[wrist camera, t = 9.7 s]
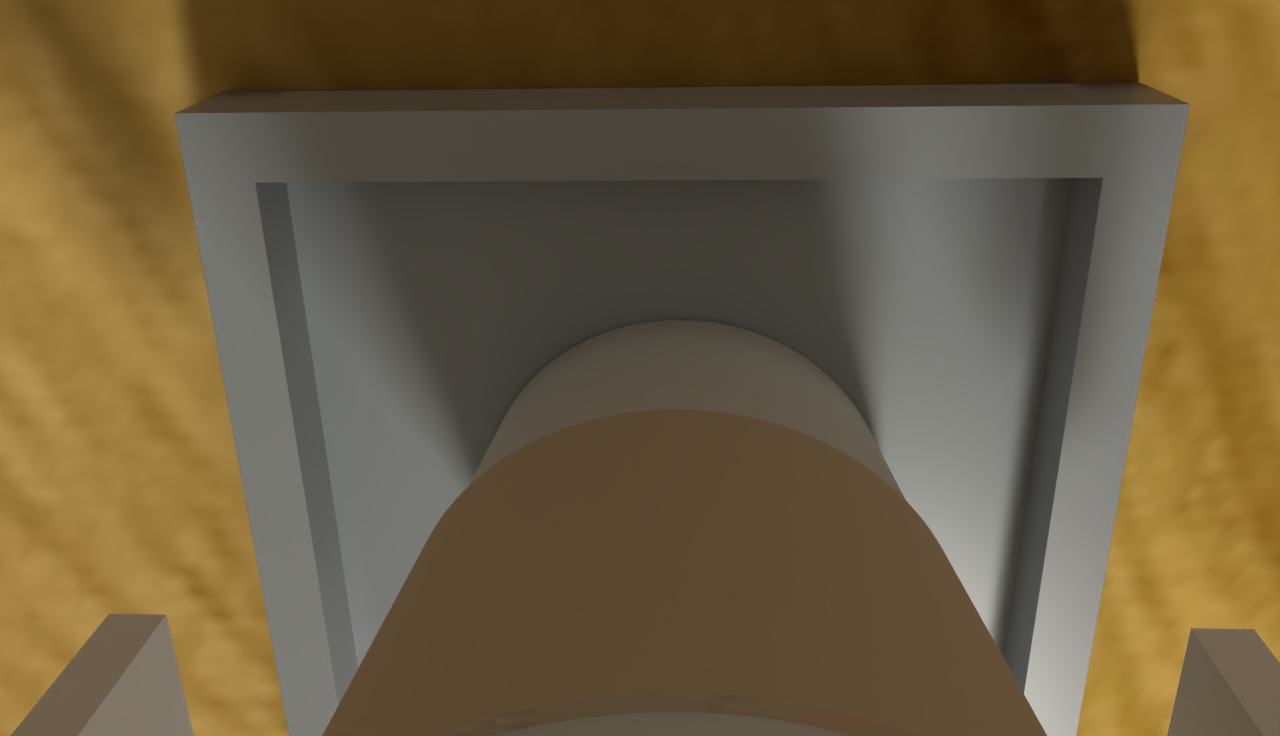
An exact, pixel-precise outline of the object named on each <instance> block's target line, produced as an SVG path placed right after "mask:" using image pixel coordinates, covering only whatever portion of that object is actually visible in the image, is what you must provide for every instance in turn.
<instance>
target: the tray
mask: <svg viewBox="0 0 1280 736" xmlns="http://www.w3.org/2000/svg"><path fill="white" fill-rule="evenodd" d="M1189 106H1190V104H1188V103H1186V102H1183V101H1181V100H1179V99H1177V98H1174V97H1172V96H1170V95H1167V94H1165V93H1163V92H1160V91H1158V90H1156V89H1154V88H1151V87H1149V86H1147V85H1144V84H1142V83H1063V84H962V85H861V86H759V87H658V88H557V89H456V90H354V91H253V92H223V93H220V94H218V95H216V96H213V97H211V98H209V99H206V100H204V101H202V102H200V103H197V104H195V105H193V106H190V107H188V108H186V109H183V110H181V111H179V112H176V113H174V114H175V119H176V125H177V130H178V136H179V141H180V146H181V152H182V157H183V163H184V168H185V174H186V179H187V184H188V190H189V195H190V201H191V206H192V212H193V217H194V222H195V228H196V233H197V239H198V244H199V250H200V255H201V260H202V266H203V271H204V277H205V282H206V288H207V293H208V298H209V304H210V309H211V315H212V320H213V326H214V331H215V336H216V342H217V347H218V353H219V358H220V364H221V369H222V374H223V380H224V385H225V391H226V396H227V402H228V407H229V412H230V418H231V423H232V429H233V434H234V440H235V445H236V450H237V456H238V461H239V467H240V472H241V478H242V483H243V488H244V494H245V499H246V505H247V510H248V516H249V521H250V526H251V532H252V537H253V543H254V548H255V554H256V559H257V564H258V570H259V575H260V581H261V586H262V592H263V597H264V602H265V608H266V613H267V619H268V624H269V630H270V635H271V640H272V646H273V651H274V657H275V662H276V668H277V673H278V678H279V684H280V689H281V695H282V700H283V706H284V711H285V716H286V722H287V727H288V733H289V736H322V735H323V733H324V731H325V729H326V728H327V726H328V724H329V722H330V720H331V718H332V716H333V715H334V713H335V711H336V709H337V707H338V705H339V703H340V701H341V700H342V698H343V696H344V694H345V692H346V690H347V688H348V687H349V685H350V683H351V681H352V679H353V677H354V675H355V674H356V672H357V670H358V668H359V666H360V664H361V662H362V661H363V659H364V657H365V655H366V653H367V651H368V649H369V648H370V646H371V644H372V642H373V640H374V638H375V636H376V635H377V633H378V631H379V629H380V627H381V625H382V623H383V621H384V620H385V618H386V616H387V614H388V612H389V610H390V608H391V607H392V605H393V603H394V601H395V599H396V597H397V595H398V594H399V592H400V590H401V588H402V586H403V584H404V582H405V581H406V579H407V577H408V575H409V573H410V571H411V569H412V568H413V566H414V564H415V562H416V560H417V558H418V556H419V555H420V553H421V551H422V549H423V547H424V545H425V543H426V541H427V540H428V538H429V536H430V534H431V532H432V531H433V529H434V528H435V526H436V524H437V523H438V522H439V520H440V519H441V517H442V516H443V514H444V513H445V512H446V510H447V509H448V508H449V507H450V506H451V504H452V503H453V502H454V501H455V500H456V499H457V497H458V496H459V495H460V494H461V493H462V492H463V491H464V490H465V489H466V488H467V487H468V486H469V485H470V483H471V481H472V479H473V477H474V475H475V473H476V471H477V469H478V467H479V466H480V464H481V462H482V460H483V458H484V456H485V454H486V452H487V450H488V448H489V446H490V444H491V442H492V440H493V438H494V436H495V434H496V432H497V431H498V429H499V427H500V425H501V423H502V421H503V419H504V417H505V415H506V413H507V412H508V410H509V408H510V406H511V405H512V403H513V402H514V400H515V399H516V398H517V396H518V395H519V393H520V392H521V391H522V390H523V389H524V387H525V386H526V385H527V384H528V383H529V382H530V381H531V380H532V379H533V378H534V377H535V376H536V374H537V373H538V372H540V371H541V370H542V369H543V368H544V367H545V366H547V365H548V364H549V363H550V362H552V361H553V360H554V359H556V358H557V357H559V356H560V355H561V354H563V353H564V352H566V351H568V350H569V349H571V348H573V347H574V346H576V345H578V344H580V343H582V342H584V341H586V340H588V339H590V338H593V337H595V336H598V335H600V334H603V333H606V332H608V331H611V330H615V329H618V328H622V327H625V326H629V325H634V324H639V323H646V322H652V321H664V320H697V321H707V322H714V323H720V324H726V325H730V326H734V327H738V328H743V329H746V330H749V331H752V332H755V333H758V334H761V335H763V336H766V337H768V338H770V339H773V340H775V341H777V342H779V343H781V344H783V345H785V346H787V347H789V348H791V349H792V350H794V351H796V352H797V353H799V354H801V355H802V356H804V357H805V358H807V359H808V360H810V361H811V362H812V363H814V364H815V365H816V366H818V367H819V368H820V369H821V370H822V371H824V372H825V373H826V374H827V375H828V376H829V377H830V378H831V379H832V380H833V381H834V382H835V383H837V384H838V385H839V387H840V388H841V389H842V390H843V391H844V392H845V393H846V395H847V396H848V397H849V398H850V400H851V401H852V402H853V404H854V405H855V407H856V408H857V409H858V411H859V413H860V414H861V416H862V417H863V419H864V421H865V423H866V425H867V427H868V428H869V430H870V432H871V434H872V436H873V438H874V440H875V442H876V444H877V446H878V448H879V449H880V451H881V453H882V455H883V457H884V459H885V461H886V463H887V465H888V467H889V469H890V471H891V472H892V474H893V476H894V478H895V480H896V482H897V484H898V486H899V488H900V490H901V492H902V493H903V495H904V497H905V499H906V501H907V502H908V503H909V504H910V505H911V506H912V507H913V509H914V510H915V511H916V512H917V513H918V514H919V516H920V517H921V518H922V519H923V521H924V522H925V523H926V525H927V526H928V527H929V529H930V530H931V531H932V533H933V534H934V536H935V537H936V539H937V541H938V542H939V544H940V546H941V547H942V549H943V551H944V553H945V554H946V556H947V558H948V560H949V561H950V563H951V565H952V567H953V569H954V570H955V572H956V574H957V576H958V577H959V579H960V581H961V583H962V585H963V586H964V588H965V590H966V592H967V594H968V595H969V597H970V599H971V601H972V602H973V604H974V606H975V608H976V610H977V611H978V613H979V615H980V617H981V618H982V620H983V622H984V624H985V626H986V627H987V629H988V631H989V633H990V634H991V636H992V638H993V640H994V642H995V643H996V645H997V647H998V649H999V651H1000V652H1001V654H1002V656H1003V658H1004V659H1005V661H1006V663H1007V665H1008V667H1009V668H1010V670H1011V672H1012V674H1013V675H1014V677H1015V679H1016V681H1017V683H1018V684H1019V686H1020V688H1021V690H1022V691H1023V693H1024V695H1025V697H1026V699H1027V700H1028V702H1029V704H1030V706H1031V708H1032V709H1033V711H1034V713H1035V715H1036V716H1037V718H1038V720H1039V722H1040V724H1041V725H1042V727H1043V729H1044V731H1045V732H1046V734H1047V736H1076V733H1077V727H1078V722H1079V716H1080V711H1081V705H1082V700H1083V694H1084V689H1085V683H1086V677H1087V672H1088V666H1089V661H1090V655H1091V650H1092V644H1093V639H1094V633H1095V628H1096V622H1097V616H1098V611H1099V605H1100V600H1101V594H1102V589H1103V583H1104V578H1105V572H1106V567H1107V561H1108V555H1109V550H1110V544H1111V539H1112V533H1113V528H1114V522H1115V517H1116V511H1117V506H1118V500H1119V494H1120V489H1121V483H1122V478H1123V472H1124V467H1125V461H1126V456H1127V450H1128V445H1129V439H1130V433H1131V428H1132V422H1133V417H1134V411H1135V406H1136V400H1137V395H1138V389H1139V384H1140V378H1141V372H1142V367H1143V361H1144V356H1145V350H1146V345H1147V339H1148V334H1149V328H1150V323H1151V317H1152V311H1153V306H1154V300H1155V295H1156V289H1157V284H1158V278H1159V273H1160V267H1161V262H1162V256H1163V250H1164V245H1165V239H1166V234H1167V228H1168V223H1169V217H1170V212H1171V206H1172V201H1173V195H1174V189H1175V184H1176V178H1177V173H1178V167H1179V162H1180V156H1181V151H1182V145H1183V140H1184V134H1185V128H1186V123H1187V117H1188V112H1189Z"/></svg>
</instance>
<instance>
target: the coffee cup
mask: <svg viewBox="0 0 1280 736" xmlns="http://www.w3.org/2000/svg"><path fill="white" fill-rule="evenodd" d="M322 736H1047V734H1046V732H1045V731H1044V729H1043V727H1042V725H1041V724H1040V722H1039V720H1038V718H1037V716H1036V715H1035V713H1034V711H1033V709H1032V708H1031V706H1030V704H1029V702H1028V700H1027V699H1026V697H1025V695H1024V693H1023V691H1022V690H1021V688H1020V686H1019V684H1018V683H1017V681H1016V679H1015V677H1014V675H1013V674H1012V672H1011V670H1010V668H1009V667H1008V665H1007V663H1006V661H1005V659H1004V658H1003V656H1002V654H1001V652H1000V651H999V649H998V647H997V645H996V643H995V642H994V640H993V638H992V636H991V634H990V633H989V631H988V629H987V627H986V626H985V624H984V622H983V620H982V618H981V617H980V615H979V613H978V611H977V610H976V608H975V606H974V604H973V602H972V601H971V599H970V597H969V595H968V594H967V592H966V590H965V588H964V586H963V585H962V583H961V581H960V579H959V577H958V576H957V574H956V572H955V570H954V569H953V567H952V565H951V563H950V561H949V560H948V558H947V556H946V554H945V553H944V551H943V549H942V547H941V546H940V544H939V542H938V541H937V539H936V537H935V536H934V534H933V533H932V531H931V530H930V529H929V527H928V526H927V525H926V523H925V522H924V521H923V519H922V518H921V517H920V516H919V514H918V513H917V512H916V511H915V510H914V509H913V507H912V506H911V505H910V504H909V503H908V502H907V501H906V499H905V497H904V495H903V493H902V492H901V490H900V488H899V486H898V484H897V482H896V480H895V478H894V476H893V474H892V472H891V471H890V469H889V467H888V465H887V463H886V461H885V459H884V457H883V455H882V453H881V451H880V449H879V448H878V446H877V444H876V442H875V440H874V438H873V436H872V434H871V432H870V430H869V428H868V427H867V425H866V423H865V421H864V419H863V417H862V416H861V414H860V413H859V411H858V409H857V408H856V407H855V405H854V404H853V402H852V401H851V400H850V398H849V397H848V396H847V395H846V393H845V392H844V391H843V390H842V389H841V388H840V387H839V385H838V384H837V383H835V382H834V381H833V380H832V379H831V378H830V377H829V376H828V375H827V374H826V373H825V372H824V371H822V370H821V369H820V368H819V367H818V366H816V365H815V364H814V363H812V362H811V361H810V360H808V359H807V358H805V357H804V356H802V355H801V354H799V353H797V352H796V351H794V350H792V349H791V348H789V347H787V346H785V345H783V344H781V343H779V342H777V341H775V340H773V339H770V338H768V337H766V336H763V335H761V334H758V333H755V332H752V331H749V330H746V329H743V328H738V327H734V326H730V325H726V324H720V323H714V322H707V321H697V320H664V321H652V322H646V323H639V324H634V325H629V326H625V327H622V328H618V329H615V330H611V331H608V332H606V333H603V334H600V335H598V336H595V337H593V338H590V339H588V340H586V341H584V342H582V343H580V344H578V345H576V346H574V347H573V348H571V349H569V350H568V351H566V352H564V353H563V354H561V355H560V356H559V357H557V358H556V359H554V360H553V361H552V362H550V363H549V364H548V365H547V366H545V367H544V368H543V369H542V370H541V371H540V372H538V373H537V374H536V376H535V377H534V378H533V379H532V380H531V381H530V382H529V383H528V384H527V385H526V386H525V387H524V389H523V390H522V391H521V392H520V393H519V395H518V396H517V398H516V399H515V400H514V402H513V403H512V405H511V406H510V408H509V410H508V412H507V413H506V415H505V417H504V419H503V421H502V423H501V425H500V427H499V429H498V431H497V432H496V434H495V436H494V438H493V440H492V442H491V444H490V446H489V448H488V450H487V452H486V454H485V456H484V458H483V460H482V462H481V464H480V466H479V467H478V469H477V471H476V473H475V475H474V477H473V479H472V481H471V483H470V485H469V486H468V487H467V488H466V489H465V490H464V491H463V492H462V493H461V494H460V495H459V496H458V497H457V499H456V500H455V501H454V502H453V503H452V504H451V506H450V507H449V508H448V509H447V510H446V512H445V513H444V514H443V516H442V517H441V519H440V520H439V522H438V523H437V524H436V526H435V528H434V529H433V531H432V532H431V534H430V536H429V538H428V540H427V541H426V543H425V545H424V547H423V549H422V551H421V553H420V555H419V556H418V558H417V560H416V562H415V564H414V566H413V568H412V569H411V571H410V573H409V575H408V577H407V579H406V581H405V582H404V584H403V586H402V588H401V590H400V592H399V594H398V595H397V597H396V599H395V601H394V603H393V605H392V607H391V608H390V610H389V612H388V614H387V616H386V618H385V620H384V621H383V623H382V625H381V627H380V629H379V631H378V633H377V635H376V636H375V638H374V640H373V642H372V644H371V646H370V648H369V649H368V651H367V653H366V655H365V657H364V659H363V661H362V662H361V664H360V666H359V668H358V670H357V672H356V674H355V675H354V677H353V679H352V681H351V683H350V685H349V687H348V688H347V690H346V692H345V694H344V696H343V698H342V700H341V701H340V703H339V705H338V707H337V709H336V711H335V713H334V715H333V716H332V718H331V720H330V722H329V724H328V726H327V728H326V729H325V731H324V733H323V735H322Z"/></svg>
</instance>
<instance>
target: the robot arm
mask: <svg viewBox="0 0 1280 736" xmlns="http://www.w3.org/2000/svg"><path fill="white" fill-rule="evenodd" d="M11 736H194V735H193V730H192V726H191V722H190V717H189V713H188V709H187V704H186V700H185V695H184V691H183V687H182V682H181V678H180V674H179V669H178V665H177V660H176V656H175V652H174V647H173V643H172V639H171V634H170V630H169V625H168V621H167V617H166V615H148V614H109V615H108V616H107V617H106V618H105V620H104V621H103V622H102V623H101V625H100V626H99V627H98V628H97V629H96V631H95V632H94V633H93V634H92V636H91V637H90V638H89V639H88V641H87V642H86V643H85V644H84V646H83V647H82V648H81V649H80V651H79V652H78V653H77V654H76V656H75V657H74V658H73V659H72V660H71V662H70V663H69V664H68V665H67V667H66V668H65V669H64V670H63V672H62V673H61V674H60V675H59V677H58V678H57V679H56V680H55V682H54V683H53V684H52V685H51V687H50V688H49V689H48V690H47V691H46V693H45V694H44V695H43V696H42V698H41V699H40V700H39V701H38V703H37V704H36V705H35V706H34V708H33V709H32V710H31V711H30V713H29V714H28V715H27V716H26V718H25V719H24V720H23V721H22V722H21V724H20V725H19V726H18V727H17V729H16V730H15V731H14V732H13V734H12V735H11ZM1167 736H1280V663H1279V662H1278V660H1277V659H1276V658H1275V656H1274V655H1273V654H1272V652H1271V651H1270V650H1269V648H1268V647H1267V646H1266V644H1265V643H1264V642H1263V641H1262V639H1261V638H1260V637H1259V635H1258V634H1257V633H1256V631H1255V630H1254V629H1197V628H1191V632H1190V636H1189V641H1188V645H1187V650H1186V654H1185V659H1184V663H1183V668H1182V672H1181V677H1180V681H1179V686H1178V690H1177V695H1176V699H1175V704H1174V708H1173V713H1172V717H1171V722H1170V726H1169V731H1168V735H1167Z"/></svg>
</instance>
